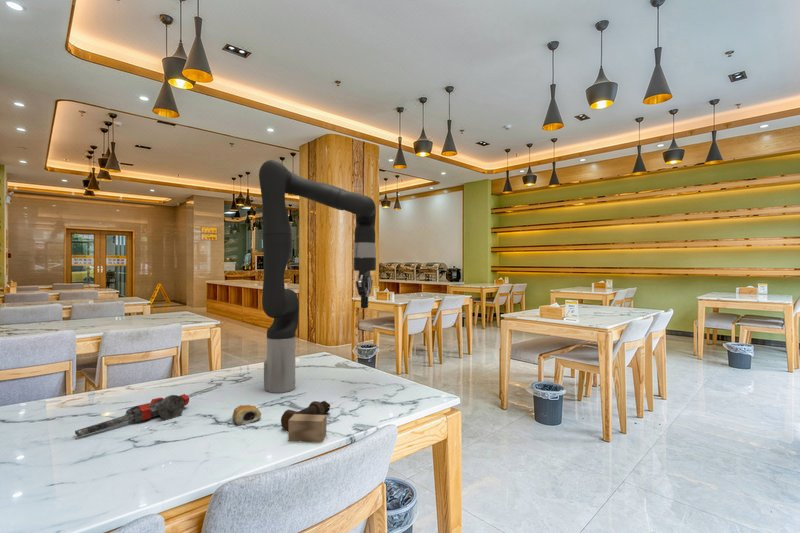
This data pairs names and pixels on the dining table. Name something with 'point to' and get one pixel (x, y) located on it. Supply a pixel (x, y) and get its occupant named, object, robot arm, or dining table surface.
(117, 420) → the dark long red-banded part
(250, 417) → the pastry
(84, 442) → the dining table surface
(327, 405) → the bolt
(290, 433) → the brown wooden block
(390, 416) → the dining table surface
